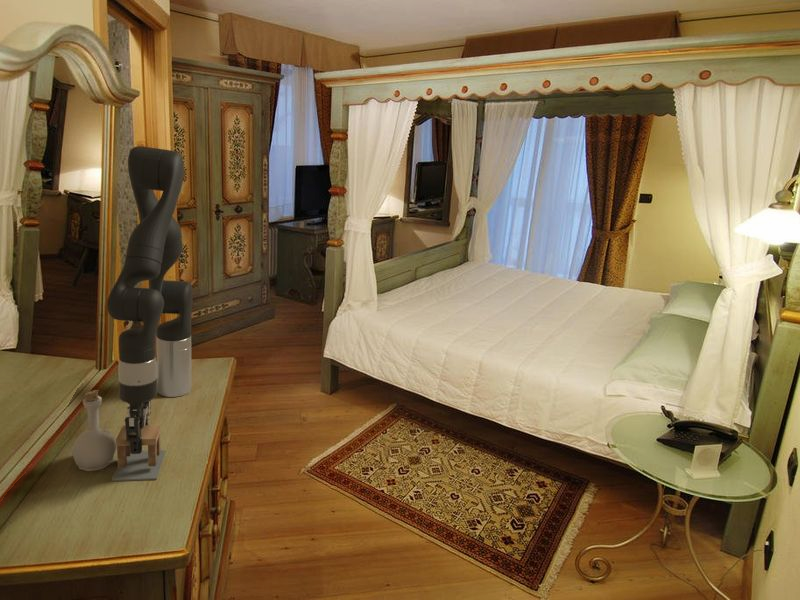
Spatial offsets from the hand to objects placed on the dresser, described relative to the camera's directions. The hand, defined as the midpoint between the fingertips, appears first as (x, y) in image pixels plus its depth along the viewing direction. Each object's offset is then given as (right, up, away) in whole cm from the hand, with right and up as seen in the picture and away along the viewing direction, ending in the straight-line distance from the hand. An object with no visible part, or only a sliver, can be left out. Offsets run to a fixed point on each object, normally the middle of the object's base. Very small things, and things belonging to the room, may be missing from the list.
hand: (139, 444), depth 121 cm
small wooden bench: (-1, -4, +1) cm, 4 cm away
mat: (-1, -5, +2) cm, 6 cm away
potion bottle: (-11, -4, +1) cm, 11 cm away
